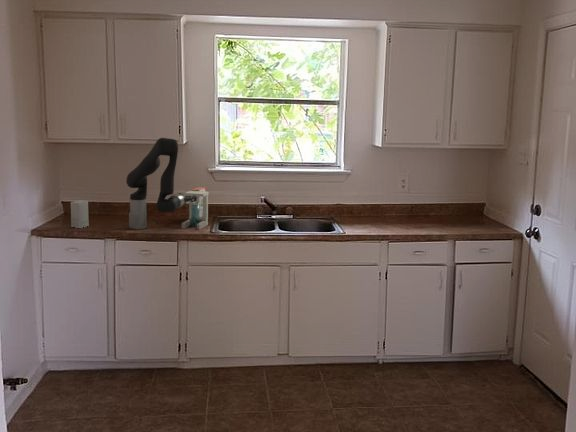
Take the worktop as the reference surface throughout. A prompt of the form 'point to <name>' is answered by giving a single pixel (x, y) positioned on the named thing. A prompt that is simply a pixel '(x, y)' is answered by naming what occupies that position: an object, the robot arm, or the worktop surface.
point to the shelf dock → (203, 221)
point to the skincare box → (79, 214)
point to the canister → (194, 214)
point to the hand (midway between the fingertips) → (187, 196)
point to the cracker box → (200, 200)
